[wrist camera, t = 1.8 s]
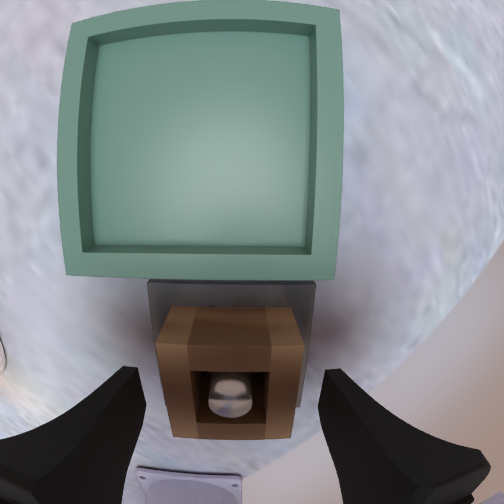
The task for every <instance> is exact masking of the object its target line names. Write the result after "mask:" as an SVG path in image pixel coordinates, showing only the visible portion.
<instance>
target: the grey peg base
mask: <svg viewBox="0 0 504 504" xmlns="http://www.w3.org/2000/svg"><path fill="white" fill-rule="evenodd" d="M147 286H148V296H149V305H150V313H151V321H152V328H153V336H154V342H155V343H156V340H157V338H158V336H159V333H160V331H161V329H162V327H163V324H164V322H165V320H166V318H167V315H168V313H169V311H170V309H171V306H206V307H291V309H292V312H293V315H294V317H295V320H296V323H297V326H298V329H299V331H300V334H301V337H302V340H303V343H304V351H303V359H302V367H301V374H300V381H299V388H298V395H297V402H296V407H300V403H301V396H302V390H303V384H304V377H305V370H306V363H307V356H308V349H309V341H310V333H311V325H312V316H313V307H314V298H315V288H316V284H315V282H314V281H313V280H192V279H150V280H149V281H148V282H147ZM155 349H156V345H155ZM156 355H157V351H156ZM157 362H158V357H157ZM158 367H159V364H158ZM159 373H160V369H159ZM261 374H262V372H214V371H202V378H203V379H211V383H210V392H209V407H210V408H211V410H212V411H213V412H214V413H216V414H218V415H220V416H223V417H228V418H234V417H239V416H242V415H244V414H246V413H247V412H248V411H249V410H250V409H251V407H252V394H251V379H261ZM160 379H161V375H160ZM161 384H162V381H161ZM162 390H163V386H162ZM163 395H164V391H163ZM164 400H165V397H164ZM165 405H166V402H165Z"/></svg>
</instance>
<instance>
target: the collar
mask: <svg viewBox="0 0 504 504" xmlns="http://www.w3.org/2000/svg"><path fill="white" fill-rule="evenodd" d="M155 345H156V351H157V357H158V364H159V369H160V375H161V381H162V386H163V391H164V397H165V402H166V406H167V411H168V416H169V420H170V425H171V429H172V434H173V437H180V438H194V439H214V440H265V439H285V438H291V433H292V427H293V421H294V415H295V408H296V402H297V395H298V388H299V381H300V374H301V367H302V359H303V351H304V343H303V340H302V337H301V334H300V331H299V329H298V326H297V323H296V320H295V317H294V315H293V312H292V309H291V307H206V306H171V309H170V311H169V313H168V315H167V318H166V320H165V322H164V324H163V327H162V329H161V331H160V333H159V336H158V338H157V340H156V343H155ZM202 371H214V372H262V374H261V379H251V394H252V407H251V409H250V410H249V411H248V412H247V413H246V414H244V415H242V416H239V417H234V418H228V417H223V416H220V415H218V414H216V413H214V412H213V411H212V410H211V408H210V407H209V392H210V383H211V379H203V378H202Z"/></svg>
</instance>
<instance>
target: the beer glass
mask: <svg viewBox="0 0 504 504" xmlns="http://www.w3.org/2000/svg"><path fill="white" fill-rule="evenodd" d="M4 368H5V353H4V349H3V346H2V343H1V341H0V374H1V373H2V372H3V370H4Z"/></svg>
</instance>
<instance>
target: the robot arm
mask: <svg viewBox="0 0 504 504" xmlns="http://www.w3.org/2000/svg"><path fill="white" fill-rule="evenodd" d="M145 410H146V401H145V397H144V393H143V389H142V385H141V380H140V376H139V372H138V368H137V367H128V366H123V367H122V368H120V369H119V370H118V371H117V372H116V373H115V374H113V375H112V376H111V377H110V378H109V379H108V380H107V381H105V382H104V383H103V384H102V385H101V386H100V387H98V388H97V389H96V390H95V391H94V392H93V393H91V394H90V395H89V396H87V397H86V398H85V399H83V400H82V401H81V402H79V403H78V404H77V405H76V406H74V407H73V408H71V409H70V410H68V411H67V412H65V413H64V414H62V415H60V416H59V417H57V418H55V419H53V420H52V421H50V422H48V423H45V424H43V425H41V426H39V427H37V428H35V429H33V430H30V431H27V432H25V433H22V434H19V435H16V436H13V437H9V438H5V439H1V440H0V504H121V502H122V495H123V489H124V483H125V478H126V474H127V470H128V466H129V463H130V460H131V457H132V455H133V452H134V449H135V446H136V443H137V440H138V437H139V434H140V431H141V428H142V425H143V420H144V415H145ZM318 411H319V417H320V422H321V427H322V430H323V433H324V436H325V439H326V442H327V445H328V447H329V451H330V454H331V456H332V460H333V462H334V465H335V468H336V471H337V475H338V478H339V483H340V488H341V493H342V499H343V504H471V503H472V502H473V501H474V497H473V496H472V494H471V493H472V492H473V491H474V490H475V489H476V488H477V487H478V486H479V485H480V484H481V482H482V481H483V480H484V479H485V478H486V477H487V475H488V473H489V472H490V468H491V466H490V464H489V463H488V461H487V460H486V458H485V457H484V455H483V454H482V452H481V451H480V450H478V449H473V448H469V447H464V446H460V445H456V444H453V443H450V442H447V441H444V440H441V439H439V438H436V437H434V436H431V435H429V434H427V433H425V432H423V431H421V430H419V429H417V428H415V427H413V426H411V425H410V424H407V423H406V422H405V421H403V420H401V419H400V418H398V417H397V416H395V415H394V414H392V413H391V412H390V411H388V410H386V409H385V408H384V407H383V406H381V405H380V404H379V403H378V402H376V401H375V400H374V399H373V398H372V397H370V396H369V395H368V394H367V393H366V392H365V391H364V390H363V389H361V388H360V387H359V386H358V385H357V384H356V383H355V382H354V381H353V380H352V379H351V378H350V377H349V376H348V375H347V374H346V373H344V372H343V371H342V370H341V369H328V370H325V373H324V379H323V384H322V389H321V393H320V398H319V403H318ZM135 474H136V476H137V478H138V480H139V482H140V484H141V486H142V488H143V490H144V492H145V494H146V496H147V500H146V504H242V478H241V477H239V476H222V475H200V474H186V473H176V472H167V471H159V470H151V469H145V468H136V470H135ZM481 504H504V494H503V493H502V492H498V493H497V494H495V495H494V496H492V497H490V498H489V499H487V500H485V501H484V502H482V503H481Z"/></svg>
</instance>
